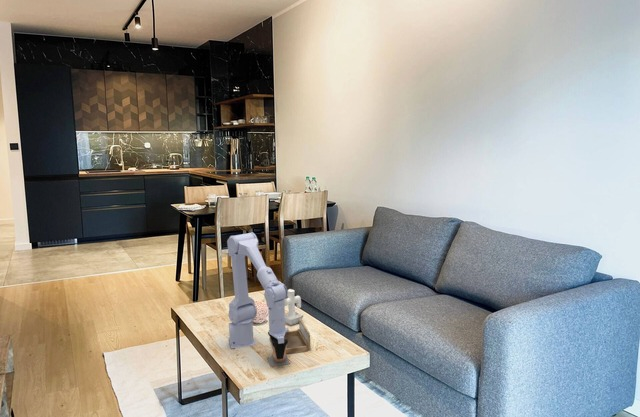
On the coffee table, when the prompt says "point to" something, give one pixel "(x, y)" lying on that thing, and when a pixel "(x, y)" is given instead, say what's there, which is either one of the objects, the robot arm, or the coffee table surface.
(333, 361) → the coffee table surface
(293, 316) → the figurine
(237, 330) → the robot arm
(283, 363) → the tile
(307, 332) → the lid
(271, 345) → the pot
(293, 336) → the cold frame
